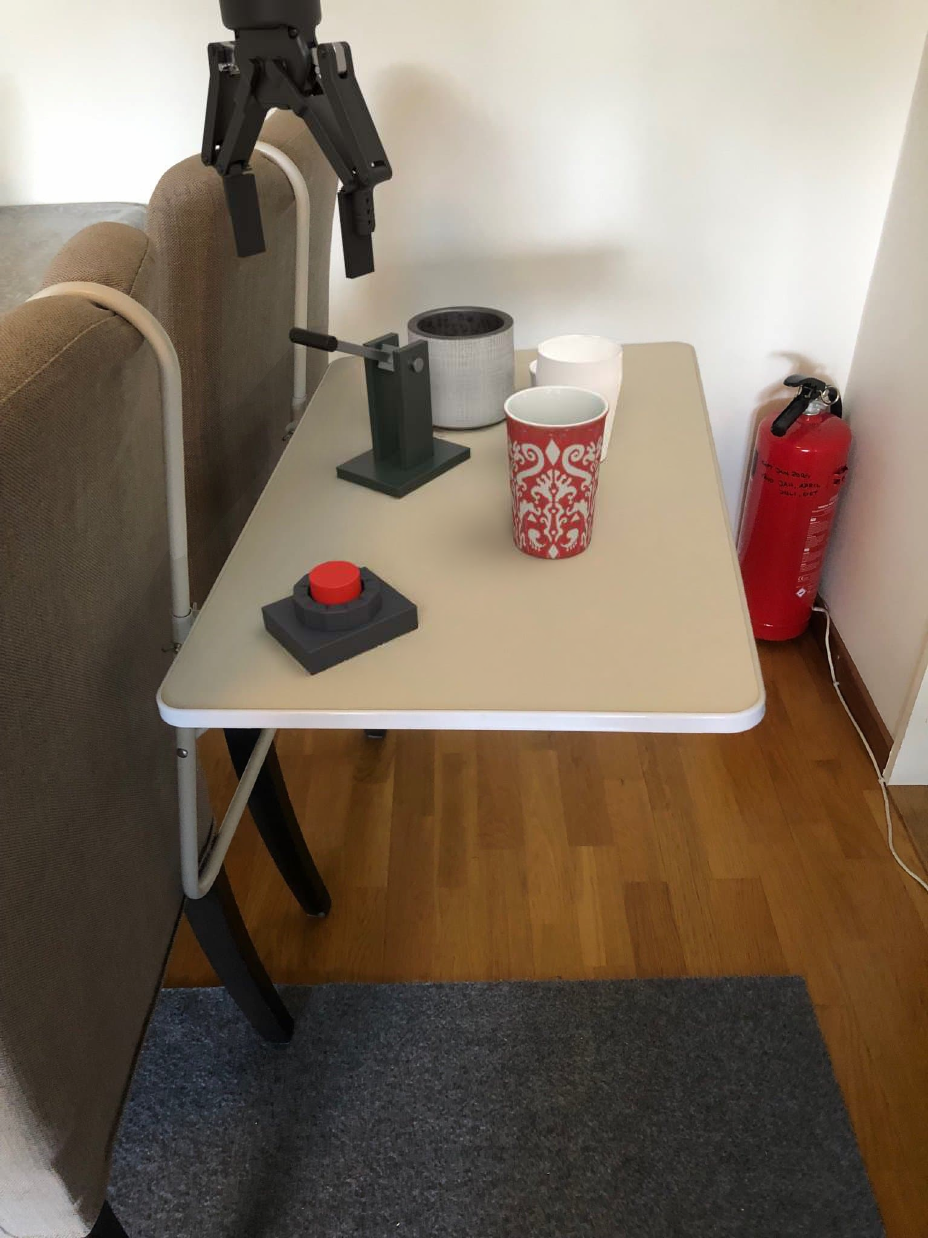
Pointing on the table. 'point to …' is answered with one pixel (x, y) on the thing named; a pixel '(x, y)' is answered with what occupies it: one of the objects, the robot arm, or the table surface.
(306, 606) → the switch block
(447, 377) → the planter
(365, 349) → the switch lever
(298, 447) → the table surface
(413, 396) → the lever bracket
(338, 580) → the button
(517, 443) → the mug
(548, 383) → the cup
